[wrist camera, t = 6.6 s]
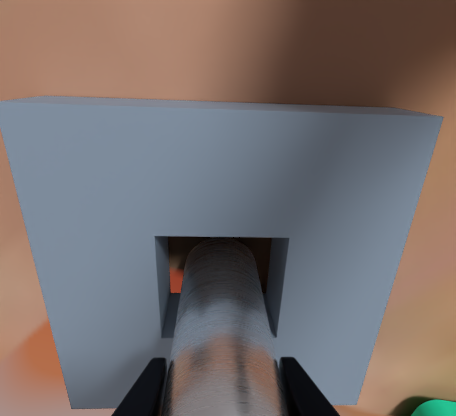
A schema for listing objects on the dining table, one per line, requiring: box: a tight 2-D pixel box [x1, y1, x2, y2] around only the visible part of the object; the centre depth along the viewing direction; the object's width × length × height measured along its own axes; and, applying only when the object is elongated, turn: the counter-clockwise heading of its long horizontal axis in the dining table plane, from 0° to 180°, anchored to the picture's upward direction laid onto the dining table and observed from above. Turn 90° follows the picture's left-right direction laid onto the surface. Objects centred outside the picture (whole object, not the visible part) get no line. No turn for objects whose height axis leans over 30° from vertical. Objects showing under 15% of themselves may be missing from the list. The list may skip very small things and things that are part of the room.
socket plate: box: [0, 96, 443, 409], centre depth 14 cm, size 14×14×3 cm
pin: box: [161, 237, 288, 416], centre depth 9 cm, size 3×3×10 cm
